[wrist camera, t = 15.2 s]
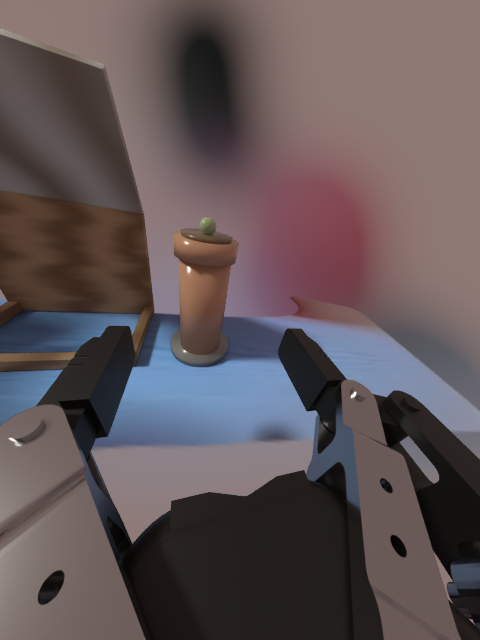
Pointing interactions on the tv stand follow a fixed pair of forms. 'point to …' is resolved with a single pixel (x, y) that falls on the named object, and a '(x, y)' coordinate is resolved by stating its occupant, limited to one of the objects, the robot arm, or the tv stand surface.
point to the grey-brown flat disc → (198, 359)
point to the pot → (203, 284)
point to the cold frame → (66, 196)
